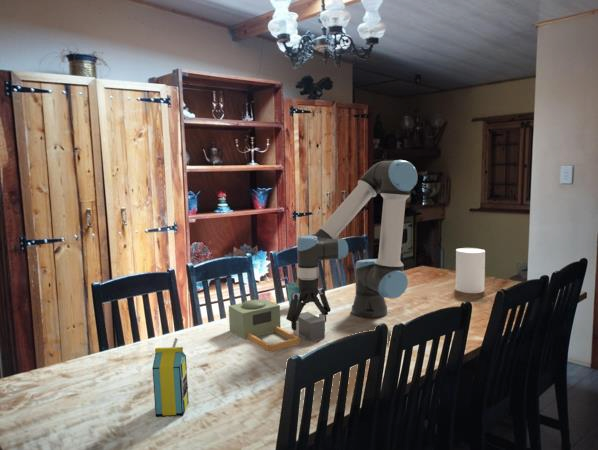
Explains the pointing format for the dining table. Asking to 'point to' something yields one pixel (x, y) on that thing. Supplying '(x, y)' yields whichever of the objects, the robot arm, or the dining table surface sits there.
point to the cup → (291, 289)
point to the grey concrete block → (311, 326)
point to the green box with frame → (259, 323)
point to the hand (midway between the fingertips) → (309, 334)
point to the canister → (470, 270)
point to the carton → (170, 381)
